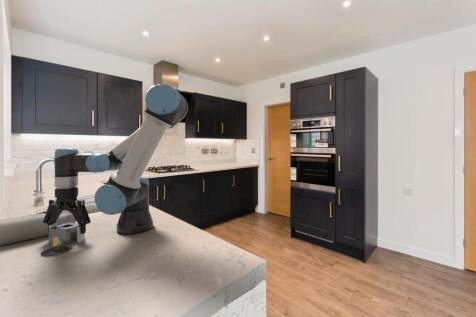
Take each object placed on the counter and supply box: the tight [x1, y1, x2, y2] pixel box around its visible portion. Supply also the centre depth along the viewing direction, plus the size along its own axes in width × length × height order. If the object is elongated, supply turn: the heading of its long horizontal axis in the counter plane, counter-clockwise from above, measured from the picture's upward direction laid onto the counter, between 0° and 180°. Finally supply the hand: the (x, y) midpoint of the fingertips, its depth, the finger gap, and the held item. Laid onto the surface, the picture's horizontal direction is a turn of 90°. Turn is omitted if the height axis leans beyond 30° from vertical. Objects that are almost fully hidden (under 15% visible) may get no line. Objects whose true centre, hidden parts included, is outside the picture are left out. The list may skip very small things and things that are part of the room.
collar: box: [48, 222, 79, 246], centre depth 89 cm, size 8×8×6 cm
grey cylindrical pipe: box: [0, 211, 77, 246], centre depth 94 cm, size 10×10×28 cm
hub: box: [40, 235, 74, 258], centre depth 80 cm, size 9×9×5 cm
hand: (67, 241), depth 89 cm, fingers open, 12 cm apart
